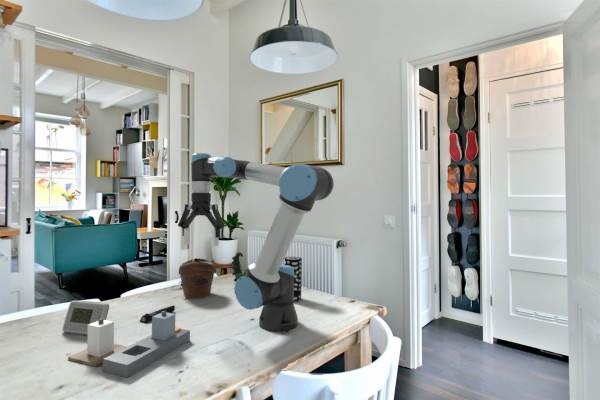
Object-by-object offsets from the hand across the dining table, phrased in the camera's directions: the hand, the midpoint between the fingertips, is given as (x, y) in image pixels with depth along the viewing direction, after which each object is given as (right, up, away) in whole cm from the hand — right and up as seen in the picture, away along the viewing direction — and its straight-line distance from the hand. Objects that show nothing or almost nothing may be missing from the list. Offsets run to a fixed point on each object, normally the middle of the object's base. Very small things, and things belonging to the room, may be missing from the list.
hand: (201, 245), depth 138 cm
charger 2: (-5, -28, -26) cm, 39 cm away
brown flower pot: (-12, -29, +34) cm, 47 cm away
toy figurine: (+10, -30, +52) cm, 61 cm away
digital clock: (-37, -30, -15) cm, 50 cm away
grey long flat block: (-7, -30, -31) cm, 44 cm away
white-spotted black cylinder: (+36, -30, +29) cm, 55 cm away
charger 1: (-22, -29, -32) cm, 48 cm away
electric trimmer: (-18, -30, +2) cm, 35 cm away
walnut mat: (-22, -30, -32) cm, 49 cm away
